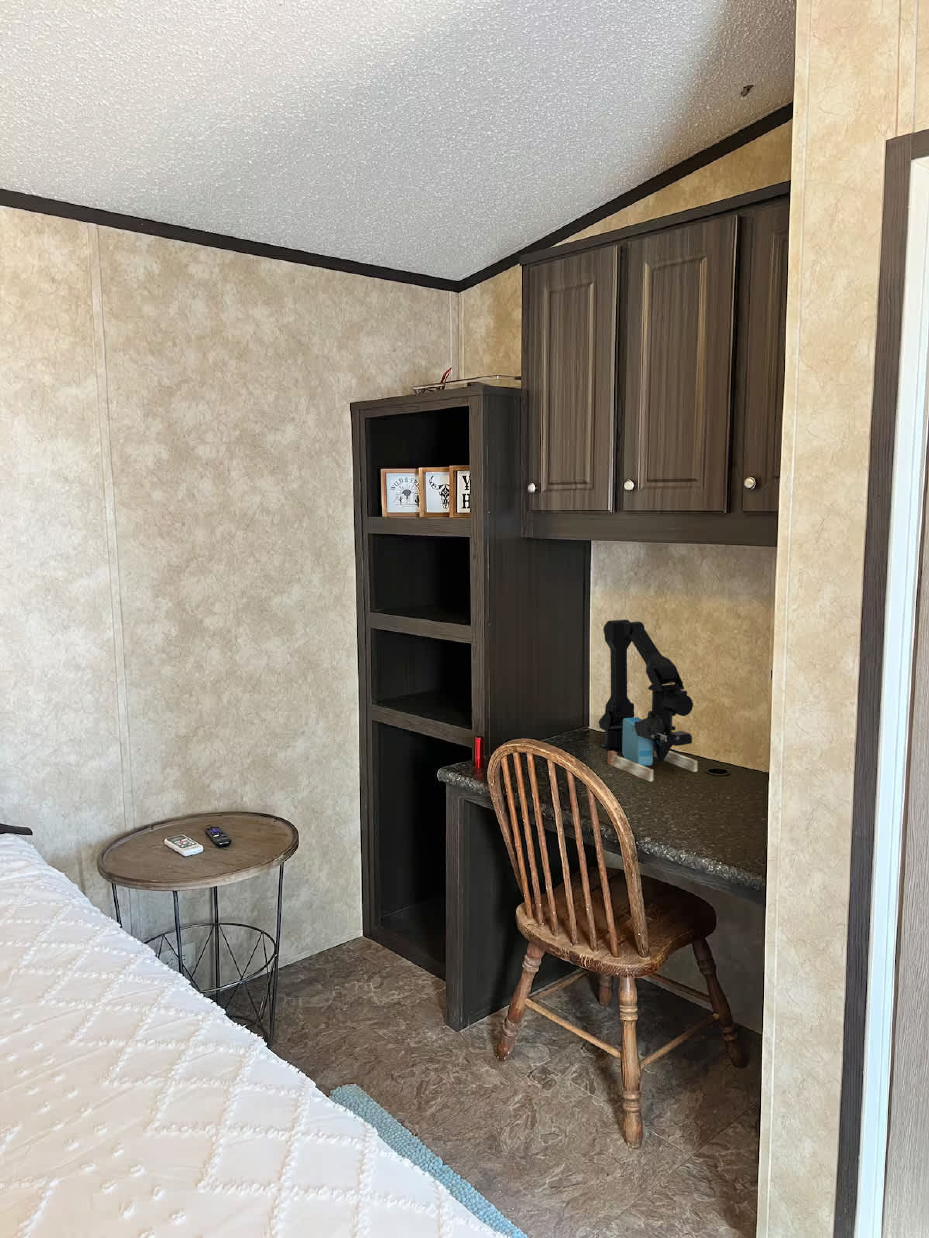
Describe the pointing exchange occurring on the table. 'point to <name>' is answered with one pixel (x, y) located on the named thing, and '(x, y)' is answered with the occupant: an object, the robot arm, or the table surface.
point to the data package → (636, 744)
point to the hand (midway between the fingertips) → (661, 762)
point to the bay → (647, 772)
